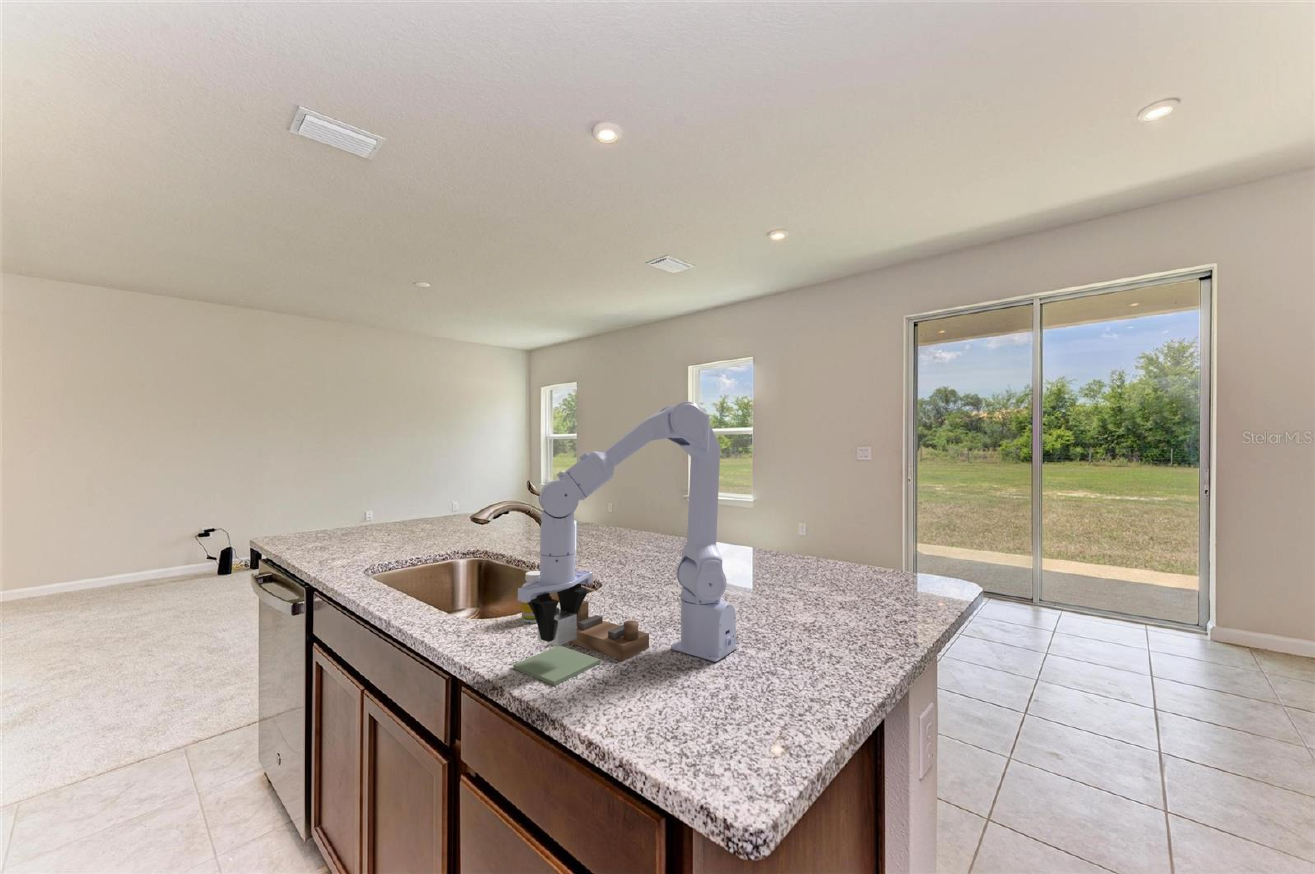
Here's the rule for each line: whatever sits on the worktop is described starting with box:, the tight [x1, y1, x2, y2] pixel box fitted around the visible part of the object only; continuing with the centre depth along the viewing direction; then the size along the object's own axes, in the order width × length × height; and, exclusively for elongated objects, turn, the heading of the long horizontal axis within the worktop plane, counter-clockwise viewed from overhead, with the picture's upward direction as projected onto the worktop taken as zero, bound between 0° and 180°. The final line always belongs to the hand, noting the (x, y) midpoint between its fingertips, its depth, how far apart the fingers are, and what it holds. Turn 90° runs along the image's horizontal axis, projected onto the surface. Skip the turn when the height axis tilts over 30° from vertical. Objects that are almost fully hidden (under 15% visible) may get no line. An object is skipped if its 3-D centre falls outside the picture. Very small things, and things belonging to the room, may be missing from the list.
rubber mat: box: [512, 645, 601, 687], centre depth 83 cm, size 10×10×1 cm
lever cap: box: [537, 606, 577, 647], centre depth 83 cm, size 5×4×5 cm
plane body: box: [568, 599, 650, 662], centre depth 92 cm, size 15×7×6 cm, turn 53°
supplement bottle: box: [521, 570, 540, 624], centre depth 105 cm, size 5×5×10 cm
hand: (557, 635), depth 83 cm, fingers closed on lever cap, 4 cm apart
